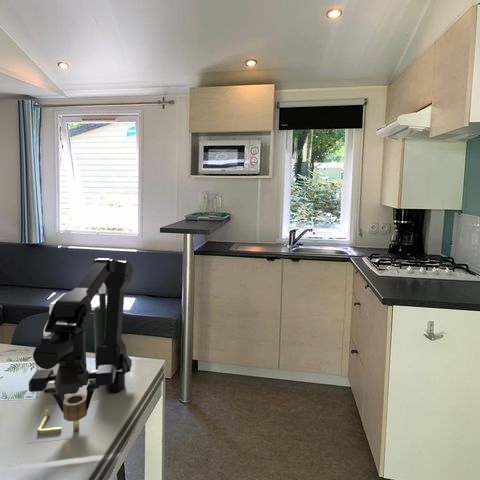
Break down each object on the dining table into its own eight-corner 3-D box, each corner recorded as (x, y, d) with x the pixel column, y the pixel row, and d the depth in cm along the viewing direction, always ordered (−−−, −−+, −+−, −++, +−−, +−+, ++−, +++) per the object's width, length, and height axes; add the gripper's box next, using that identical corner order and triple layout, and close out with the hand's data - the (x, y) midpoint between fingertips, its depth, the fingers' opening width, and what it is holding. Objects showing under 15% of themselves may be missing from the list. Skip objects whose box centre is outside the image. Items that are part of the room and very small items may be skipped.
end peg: (74, 429, 93) (73, 416, 93) (80, 428, 93) (79, 415, 93) (72, 432, 92) (72, 419, 91) (78, 431, 92) (78, 418, 92)
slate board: (46, 408, 103) (46, 405, 103) (99, 403, 106) (99, 400, 106) (26, 446, 88) (25, 443, 88) (89, 439, 90) (89, 436, 90)
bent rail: (45, 416, 98) (45, 409, 98) (68, 414, 99) (68, 407, 99) (36, 435, 90) (35, 428, 90) (60, 432, 92) (60, 425, 91)
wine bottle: (95, 367, 127) (92, 281, 124) (112, 364, 130) (110, 280, 126) (96, 374, 122) (93, 285, 118) (114, 371, 125) (112, 284, 121)
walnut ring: (67, 409, 94) (66, 394, 94) (88, 407, 95) (88, 392, 95) (61, 422, 89) (60, 406, 88) (84, 419, 90) (84, 404, 90)
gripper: (17, 368, 80) (22, 435, 82) (109, 361, 84) (111, 425, 86) (34, 347, 91) (38, 406, 93) (114, 342, 95) (116, 399, 97)
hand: (75, 409), depth 92 cm, fingers closed on walnut ring, 5 cm apart
